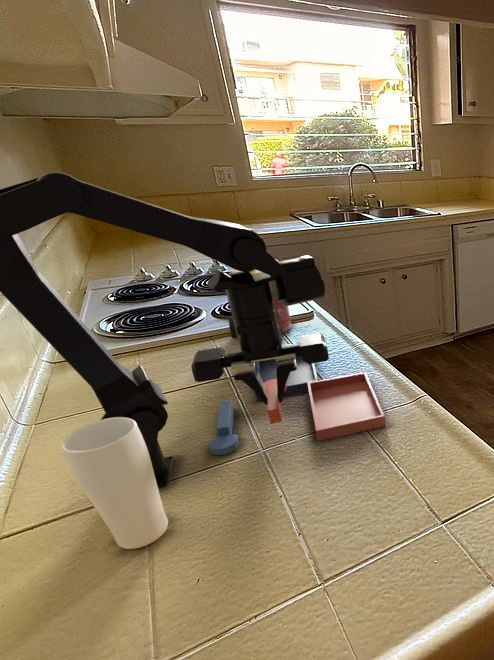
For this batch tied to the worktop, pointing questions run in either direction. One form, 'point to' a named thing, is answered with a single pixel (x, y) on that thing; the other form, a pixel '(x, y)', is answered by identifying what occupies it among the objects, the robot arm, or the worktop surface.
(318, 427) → the rose tray
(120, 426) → the drinking glass
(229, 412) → the blue spoon
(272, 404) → the terracotta spoon
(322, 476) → the worktop surface
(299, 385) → the navy tray
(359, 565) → the worktop surface
